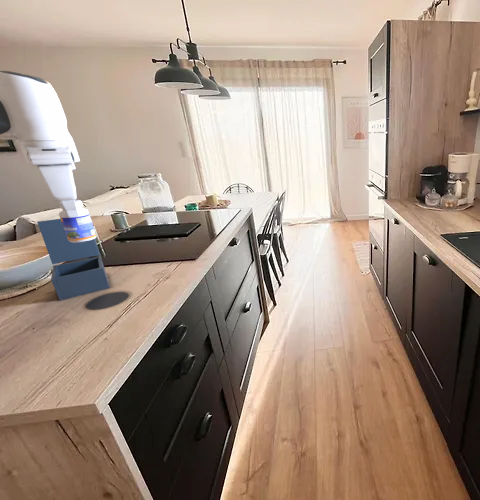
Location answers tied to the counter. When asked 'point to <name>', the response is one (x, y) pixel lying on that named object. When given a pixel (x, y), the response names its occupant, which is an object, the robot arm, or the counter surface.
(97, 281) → the box
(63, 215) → the pill bottle
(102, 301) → the coaster
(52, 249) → the box lid
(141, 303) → the counter surface
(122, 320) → the counter surface
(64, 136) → the robot arm
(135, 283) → the counter surface
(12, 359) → the counter surface
